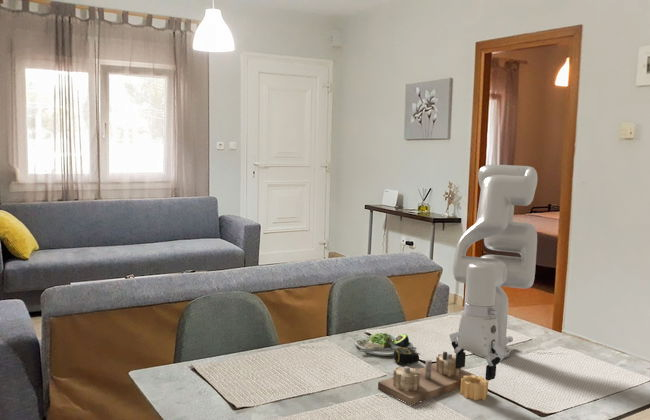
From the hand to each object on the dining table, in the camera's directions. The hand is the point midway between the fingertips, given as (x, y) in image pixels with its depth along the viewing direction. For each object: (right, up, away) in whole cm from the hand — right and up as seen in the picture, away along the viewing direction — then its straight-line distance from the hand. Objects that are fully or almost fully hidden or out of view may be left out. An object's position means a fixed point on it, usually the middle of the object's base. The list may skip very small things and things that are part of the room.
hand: (474, 373), depth 153 cm
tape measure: (-15, -3, +23) cm, 28 cm away
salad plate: (-20, -2, +35) cm, 40 cm away
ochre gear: (0, -6, +1) cm, 6 cm away
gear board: (-11, -5, +6) cm, 14 cm away
